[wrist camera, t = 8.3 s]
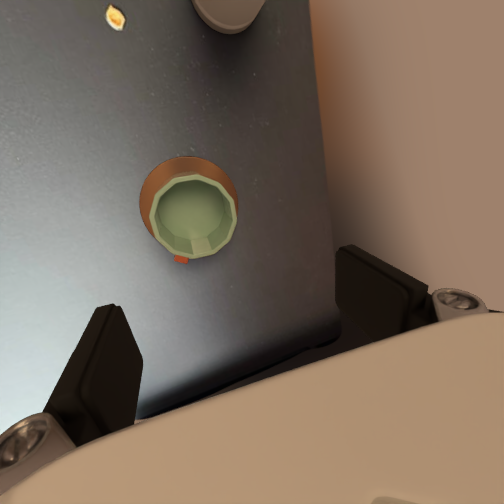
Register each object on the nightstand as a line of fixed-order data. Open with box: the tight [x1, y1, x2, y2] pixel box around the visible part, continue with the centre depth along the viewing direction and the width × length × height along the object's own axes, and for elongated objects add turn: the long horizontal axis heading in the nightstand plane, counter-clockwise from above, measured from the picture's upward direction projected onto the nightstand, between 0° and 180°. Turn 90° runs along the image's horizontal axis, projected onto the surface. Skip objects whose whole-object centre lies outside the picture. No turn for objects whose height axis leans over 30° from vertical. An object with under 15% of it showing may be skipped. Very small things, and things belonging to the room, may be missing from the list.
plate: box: [140, 156, 238, 237], centre depth 27 cm, size 10×10×1 cm
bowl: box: [149, 171, 237, 264], centre depth 24 cm, size 8×7×5 cm
